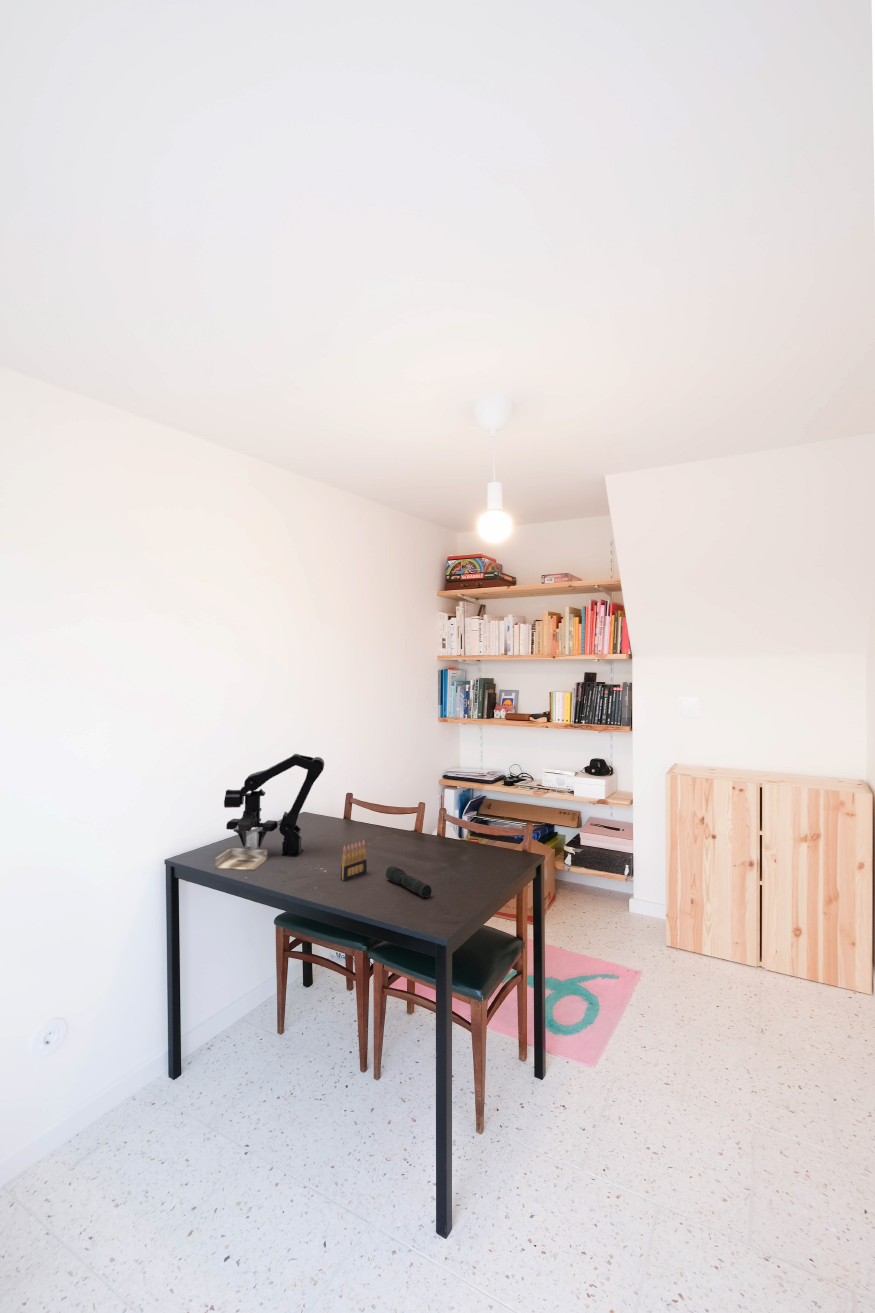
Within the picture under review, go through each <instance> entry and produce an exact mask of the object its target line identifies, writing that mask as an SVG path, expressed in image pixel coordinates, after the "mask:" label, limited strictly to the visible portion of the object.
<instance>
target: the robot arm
mask: <svg viewBox="0 0 875 1313" xmlns="http://www.w3.org/2000/svg"><path fill="white" fill-rule="evenodd" d="M295 766H296V767H298V768H299V767H300V768H302V769H304V770H307V771H306V775H305V779H304V781H303V783H302V785H301V787H300V790H299V792H298V794H297V796H296V798H295V800H294V802H293V804H292V806H291V808H290V809H289V811H284V813H283V815H282V818H281V819H280V821H279V823H278V821H277V820H268V819H267V820H266V821H265V822H262V818H261V812H262V807H261V797H264V796H265V795H266V792H265V791H264V790H263V789H262V788H260V787H262V786H264V784H265V783H267V782H268V781H269V780H271V779H272V778H274V777H276V776H278V775H280V774H282V773H284V772H286V771H287V770H289V769H292V768H293V767H295ZM324 767H325V761H324V759H323V758H321V757H319V756H317V757H316V756H315V757H312V756H308V755H301V754H299V753H294V754H292V755H291V756H290V757H287V758H286V759H284V760H282V761H280V762H278V763H276V764H275V765H272V766H270V767H269V768H267V769H265V770H260V771H257V772H253V773H251V774H249V775H248V776H247V778H245V780H244V783H243V786H242V787H241V788H240V789H226V790H225V796H224V800H223V806H224V809H227V808H241V807H242V805H244V810H243V811H242V816H241V818H232V819H230V820H229V821H227V823H226V830H233V832H234V833H236V834H238V837H239V839H240V842H241V844H242V847H243V848H244V847H246V846H247V832H251V830H252V829H253V828H258V829H260V830H258V831H257V835H258V839H257V848H261V846H262V844H263V841H264V839H265V837H266V834H267V833H268V832H274V831H275V830H276V829H277V828H278V826H279V828H278V830H279V833H280V834H281V835H282V836H283V841H282V844H281V845H282V847H281V851H282V853H281V855H282V856H288V857H289V856H293V857H298V856H299V855H300V854H301V853H302V852H303V851H304V850H303V849H302V836H300V834H301V832H302V829H301V827H299V825H297V822H298V819H299V815H300V812H301V810H302V808H303V806H304V804H305V802H306V800H307V798H308V795H309V794H310V791H311V789H312V788H313V785H314V783H315V782H316V781H317V779H318V778H319V777H320V775H321V774H322V773H323V771H324V769H325V768H324ZM259 788H260V789H259ZM258 789H259V790H258Z"/></svg>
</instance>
